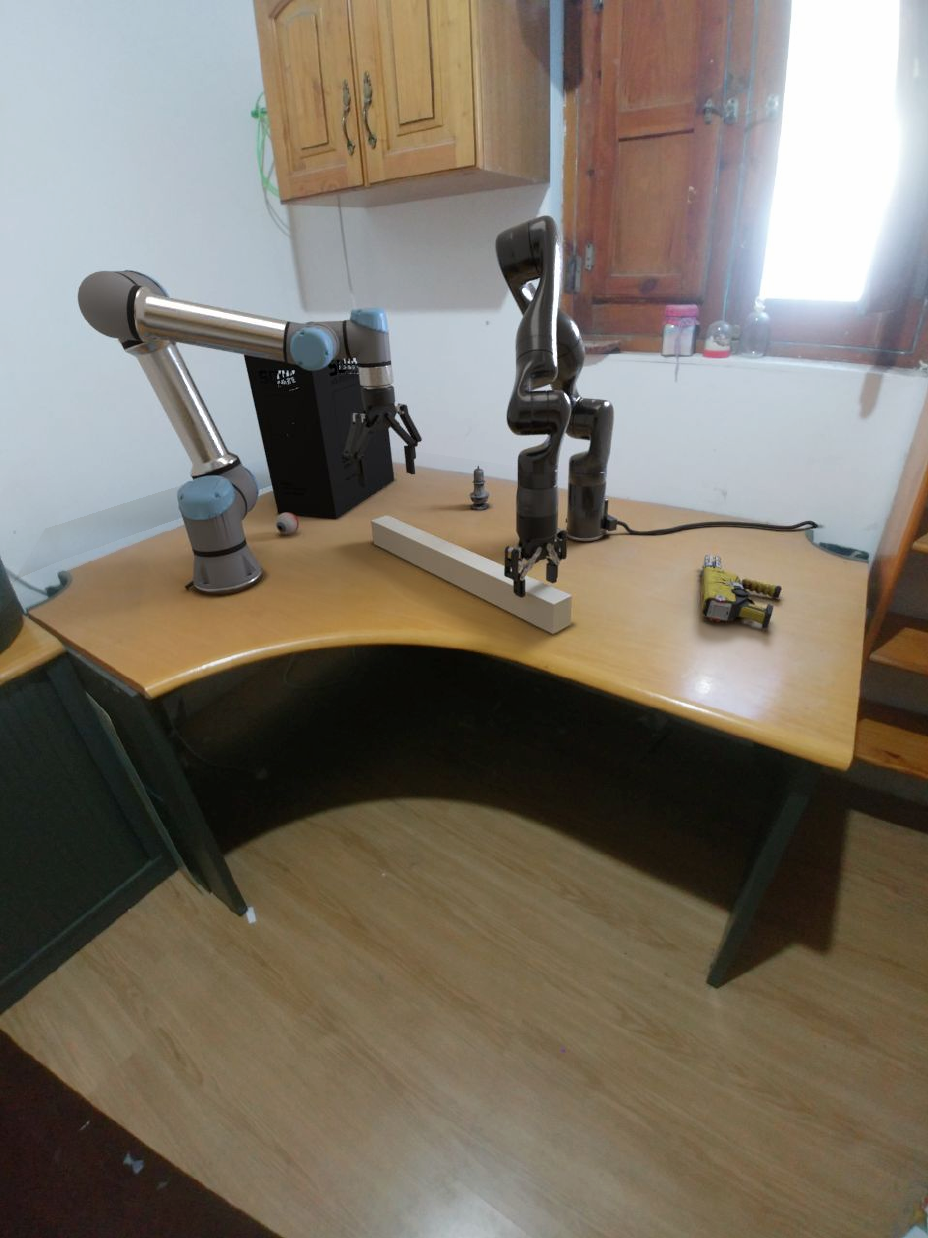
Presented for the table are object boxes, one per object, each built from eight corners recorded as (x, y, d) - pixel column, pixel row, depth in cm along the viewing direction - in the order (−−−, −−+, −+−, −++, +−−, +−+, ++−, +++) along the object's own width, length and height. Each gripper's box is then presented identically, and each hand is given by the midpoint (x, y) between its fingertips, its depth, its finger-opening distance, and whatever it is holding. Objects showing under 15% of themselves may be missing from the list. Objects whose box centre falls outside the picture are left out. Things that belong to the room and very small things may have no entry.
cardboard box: (342, 476, 210) (320, 334, 188) (394, 479, 204) (377, 333, 181) (277, 513, 180) (242, 349, 158) (336, 518, 174) (308, 348, 151)
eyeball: (273, 537, 164) (268, 516, 161) (287, 528, 169) (282, 508, 166) (291, 539, 161) (286, 518, 158) (305, 530, 166) (301, 510, 163)
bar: (570, 624, 116) (572, 595, 113) (552, 634, 114) (553, 604, 110) (389, 538, 159) (387, 515, 156) (373, 543, 156) (370, 520, 153)
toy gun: (779, 564, 127) (705, 551, 131) (794, 614, 107) (705, 598, 111) (772, 584, 129) (699, 571, 133) (786, 637, 109) (699, 620, 113)
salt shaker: (488, 509, 173) (486, 468, 167) (468, 509, 175) (466, 468, 169) (491, 503, 178) (490, 462, 172) (471, 502, 180) (470, 462, 174)
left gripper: (412, 376, 143) (420, 465, 154) (318, 392, 130) (334, 488, 140) (431, 379, 138) (438, 470, 149) (335, 396, 125) (350, 495, 135)
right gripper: (549, 494, 114) (547, 571, 122) (493, 513, 107) (495, 594, 115) (579, 503, 109) (575, 583, 117) (523, 523, 102) (522, 607, 110)
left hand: (387, 479), depth 144 cm, fingers open, 13 cm apart
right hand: (535, 588), depth 116 cm, fingers open, 8 cm apart
